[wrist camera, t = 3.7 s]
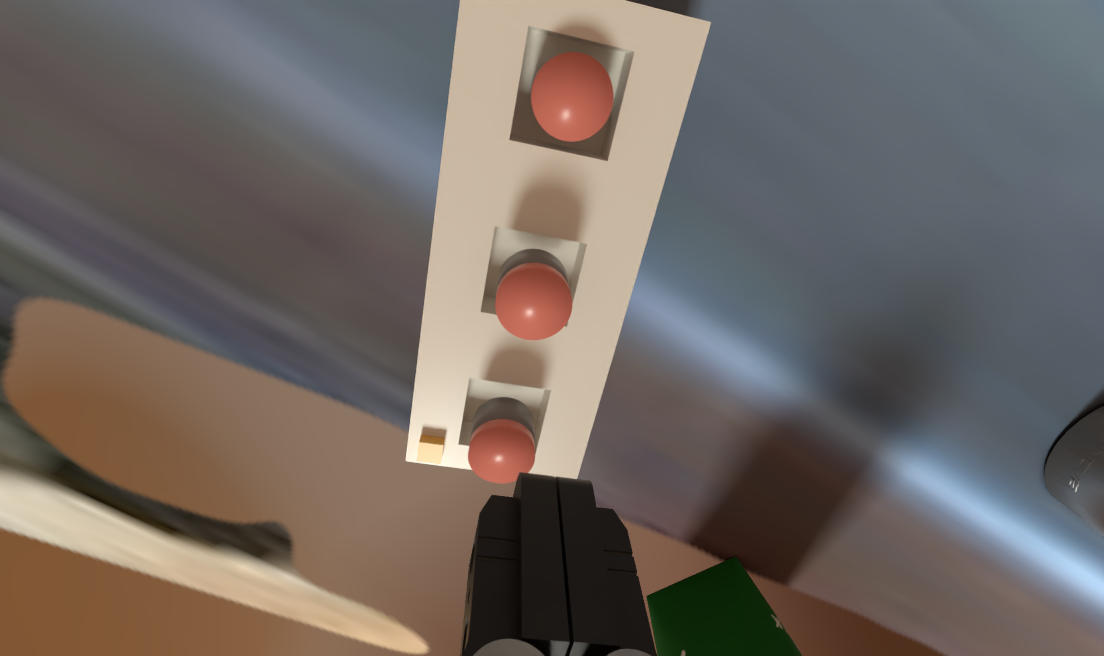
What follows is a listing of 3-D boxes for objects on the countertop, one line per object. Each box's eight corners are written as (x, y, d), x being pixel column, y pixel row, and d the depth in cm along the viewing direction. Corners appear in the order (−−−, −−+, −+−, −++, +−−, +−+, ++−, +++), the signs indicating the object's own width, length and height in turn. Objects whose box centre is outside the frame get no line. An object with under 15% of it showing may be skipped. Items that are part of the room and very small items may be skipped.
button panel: (712, -82, 21) (757, -118, 17) (569, 436, 32) (576, 490, 28) (489, -146, 20) (481, -201, 16) (419, 415, 31) (403, 468, 27)
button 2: (574, 255, 23) (580, 277, 20) (559, 318, 24) (563, 345, 22) (504, 242, 22) (502, 262, 20) (492, 307, 24) (489, 333, 21)
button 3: (539, 401, 26) (541, 434, 23) (527, 450, 27) (528, 487, 25) (477, 392, 25) (473, 425, 23) (468, 442, 27) (463, 478, 24)
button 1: (611, 63, 21) (622, 62, 19) (593, 140, 23) (602, 149, 20) (537, 46, 21) (540, 42, 19) (523, 125, 22) (524, 132, 20)
